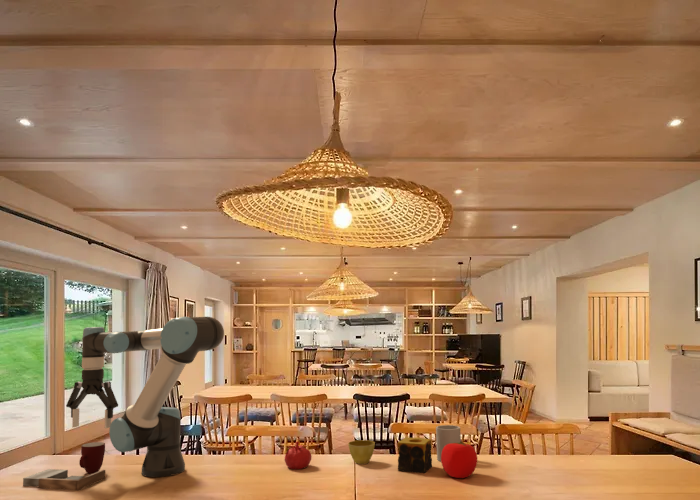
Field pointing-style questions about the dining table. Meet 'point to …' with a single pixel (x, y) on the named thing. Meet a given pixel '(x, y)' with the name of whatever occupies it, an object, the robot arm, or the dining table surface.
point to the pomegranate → (297, 457)
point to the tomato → (459, 459)
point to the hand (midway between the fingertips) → (91, 427)
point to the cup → (446, 437)
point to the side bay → (62, 479)
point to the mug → (92, 456)
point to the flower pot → (361, 450)
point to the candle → (414, 455)
